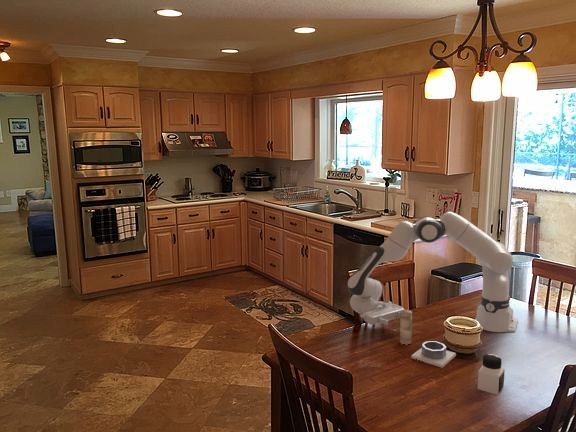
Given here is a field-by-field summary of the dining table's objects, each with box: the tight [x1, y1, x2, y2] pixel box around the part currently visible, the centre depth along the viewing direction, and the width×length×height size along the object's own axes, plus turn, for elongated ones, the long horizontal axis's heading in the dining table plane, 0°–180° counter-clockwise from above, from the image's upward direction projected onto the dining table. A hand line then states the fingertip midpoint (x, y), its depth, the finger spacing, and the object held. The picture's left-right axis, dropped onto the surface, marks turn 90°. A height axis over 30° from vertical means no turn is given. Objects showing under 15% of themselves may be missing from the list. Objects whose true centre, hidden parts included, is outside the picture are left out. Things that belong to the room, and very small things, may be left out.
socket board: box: [411, 340, 457, 369], centre depth 194 cm, size 13×13×5 cm
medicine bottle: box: [477, 353, 505, 396], centre depth 169 cm, size 7×7×12 cm
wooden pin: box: [399, 309, 413, 346], centre depth 207 cm, size 5×5×14 cm
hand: (396, 320), depth 212 cm, fingers open, 8 cm apart
